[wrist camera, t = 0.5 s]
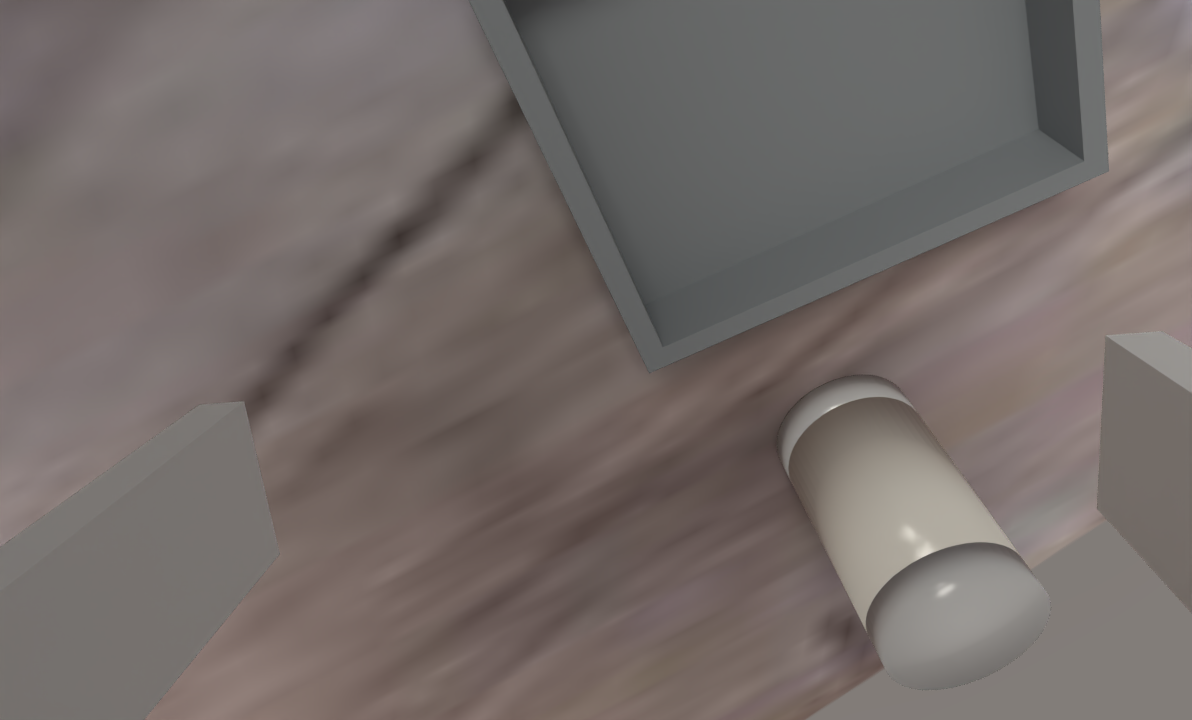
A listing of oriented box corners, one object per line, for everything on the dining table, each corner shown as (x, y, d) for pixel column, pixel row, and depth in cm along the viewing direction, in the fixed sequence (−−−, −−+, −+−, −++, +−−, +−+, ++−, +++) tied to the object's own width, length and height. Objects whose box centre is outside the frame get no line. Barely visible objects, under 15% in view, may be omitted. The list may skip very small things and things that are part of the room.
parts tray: (446, -61, 27) (454, -29, 24) (1004, -336, 25) (1081, -337, 22) (628, 317, 36) (649, 373, 33) (1049, 130, 34) (1108, 171, 31)
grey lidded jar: (760, 411, 40) (867, 621, 31) (894, 353, 39) (1042, 551, 30) (795, 499, 43) (900, 710, 34) (919, 447, 43) (1057, 648, 34)
